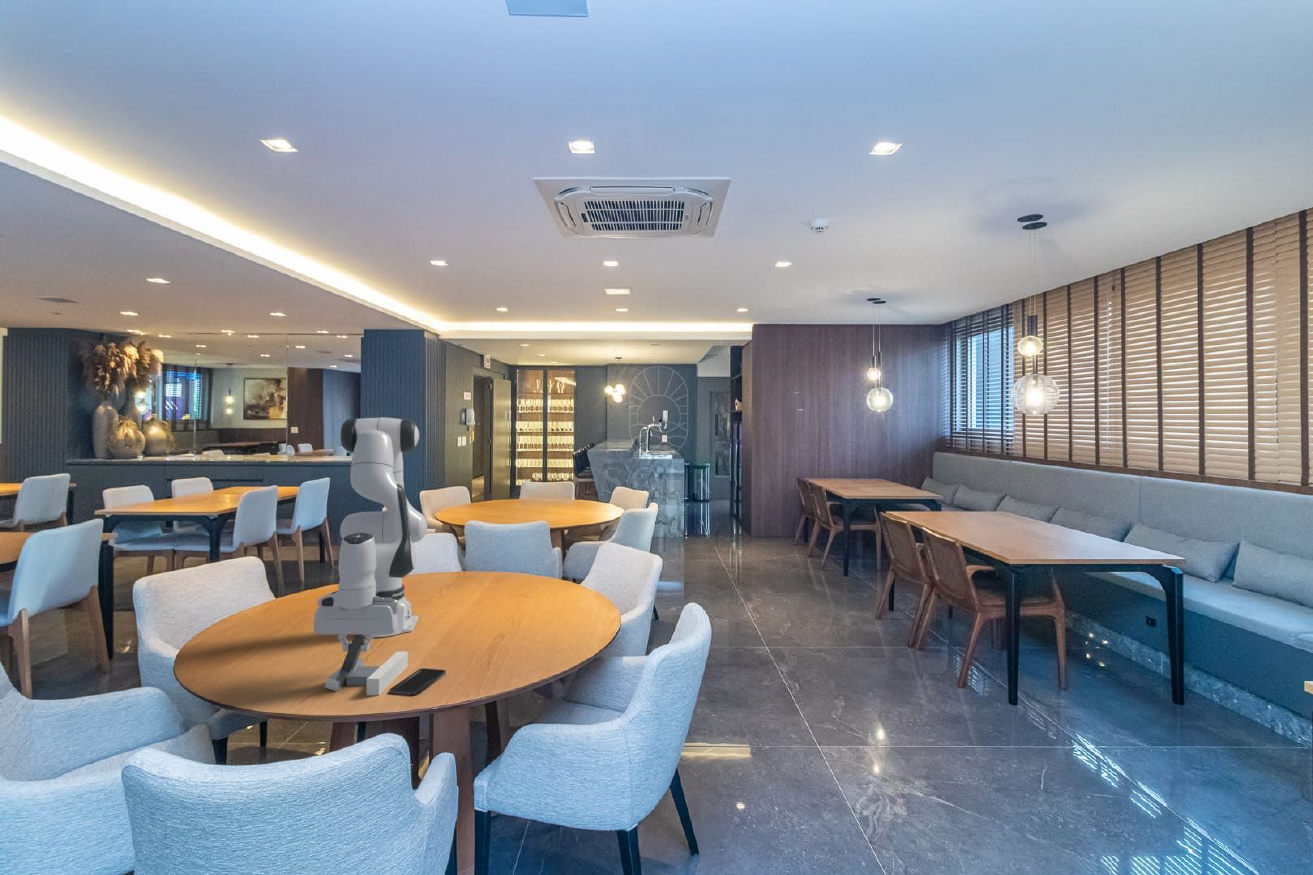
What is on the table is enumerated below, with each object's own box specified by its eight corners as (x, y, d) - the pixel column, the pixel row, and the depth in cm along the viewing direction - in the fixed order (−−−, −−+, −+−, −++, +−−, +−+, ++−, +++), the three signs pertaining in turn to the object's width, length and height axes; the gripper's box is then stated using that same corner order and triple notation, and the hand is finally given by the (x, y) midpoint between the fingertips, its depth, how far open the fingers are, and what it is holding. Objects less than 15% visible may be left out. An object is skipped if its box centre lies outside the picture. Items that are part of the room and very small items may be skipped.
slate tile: (359, 675, 158) (359, 666, 158) (385, 675, 159) (386, 666, 159) (346, 686, 151) (346, 676, 151) (374, 686, 152) (374, 676, 152)
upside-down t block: (350, 665, 162) (366, 626, 162) (361, 669, 162) (377, 629, 162) (324, 687, 148) (341, 643, 148) (336, 691, 148) (353, 647, 148)
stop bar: (396, 666, 165) (396, 651, 165) (407, 666, 165) (407, 651, 165) (366, 695, 146) (366, 678, 146) (378, 695, 146) (379, 678, 146)
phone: (387, 690, 147) (420, 667, 162) (387, 695, 147) (420, 671, 162) (416, 693, 146) (447, 670, 160) (416, 697, 146) (447, 674, 160)
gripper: (402, 594, 159) (401, 646, 158) (323, 593, 158) (322, 646, 157) (393, 600, 152) (392, 654, 152) (310, 600, 151) (309, 654, 151)
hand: (356, 650), depth 155 cm, fingers closed on upside-down t block, 3 cm apart
